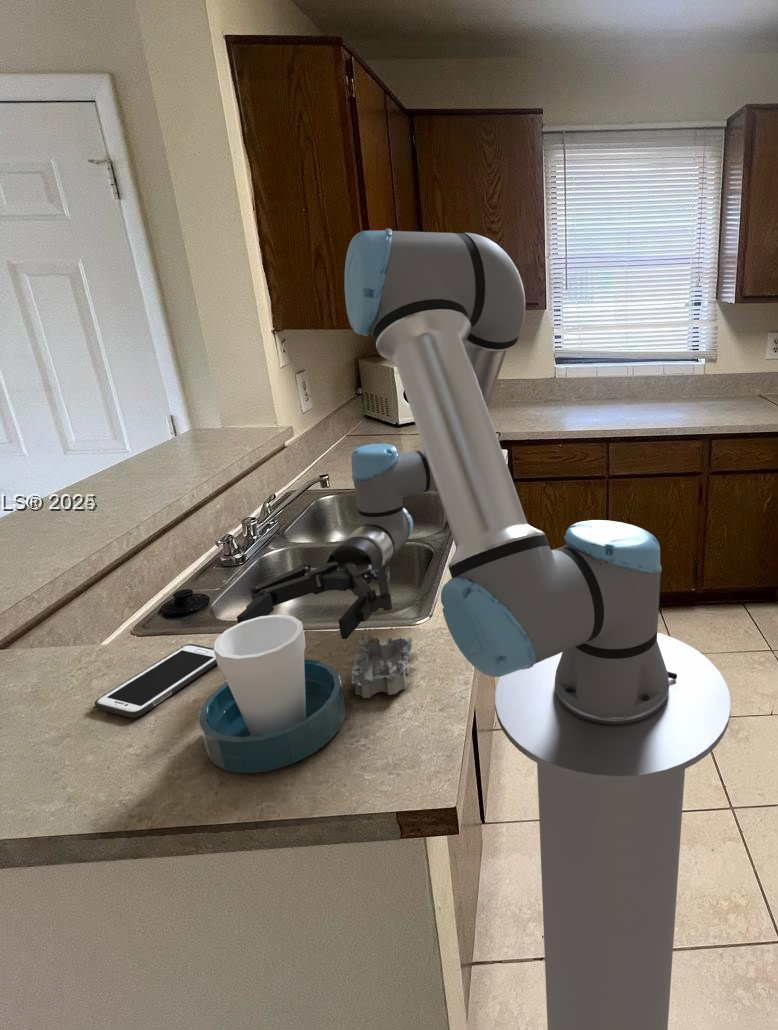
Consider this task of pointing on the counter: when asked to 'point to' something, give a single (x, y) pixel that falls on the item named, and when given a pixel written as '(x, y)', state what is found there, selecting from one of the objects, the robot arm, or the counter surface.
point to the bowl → (278, 749)
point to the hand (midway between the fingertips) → (291, 628)
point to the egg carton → (381, 666)
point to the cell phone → (158, 681)
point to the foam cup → (265, 671)
